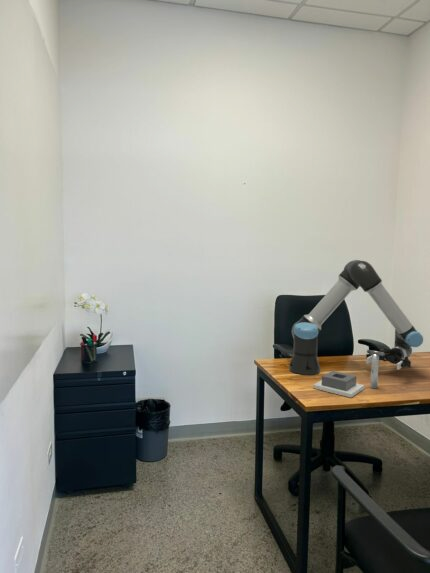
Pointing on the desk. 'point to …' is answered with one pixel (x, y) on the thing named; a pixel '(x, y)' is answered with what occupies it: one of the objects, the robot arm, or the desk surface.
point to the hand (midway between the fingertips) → (382, 363)
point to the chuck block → (339, 384)
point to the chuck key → (374, 367)
